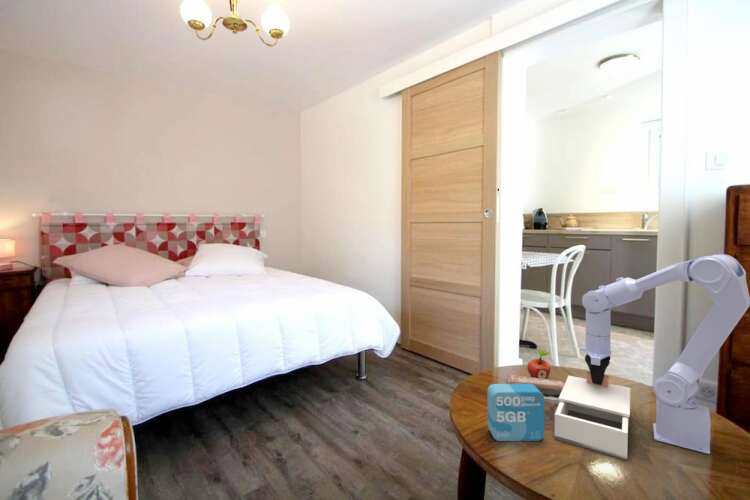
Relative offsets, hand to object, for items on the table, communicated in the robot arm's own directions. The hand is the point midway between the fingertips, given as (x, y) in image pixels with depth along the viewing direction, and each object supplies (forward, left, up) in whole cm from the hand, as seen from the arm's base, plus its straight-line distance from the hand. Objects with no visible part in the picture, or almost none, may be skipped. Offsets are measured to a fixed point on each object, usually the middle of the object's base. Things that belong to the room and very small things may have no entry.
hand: (597, 382), depth 96 cm
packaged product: (+15, 0, -8) cm, 17 cm away
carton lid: (0, +6, -1) cm, 6 cm away
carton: (0, +14, -7) cm, 15 cm away
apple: (+17, -10, -8) cm, 21 cm away
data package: (+15, +26, -8) cm, 31 cm away
